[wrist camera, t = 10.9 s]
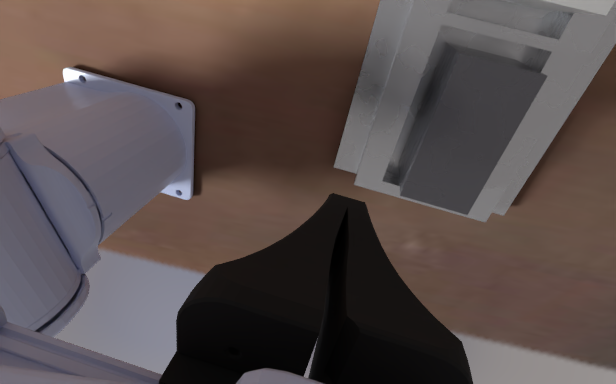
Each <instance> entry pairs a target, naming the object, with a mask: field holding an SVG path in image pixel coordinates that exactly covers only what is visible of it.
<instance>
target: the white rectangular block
mask: <svg viewBox="0 0 616 384" xmlns="http://www.w3.org/2000/svg"><path fill="white" fill-rule="evenodd" d="M502 1H507V2H511V3H515V4H519V5H523V6H528V7H532V8H536V9H540V10H549V11H560V12H571V13H582V14H593V15H604V16H606V15H607V14H608V12H609V11H610V9H611V7H612V6H613V4H614V2H615V1H616V0H502Z"/></svg>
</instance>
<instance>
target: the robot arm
mask: <svg viewBox="0 0 616 384" xmlns="http://www.w3.org/2000/svg"><path fill="white" fill-rule="evenodd" d="M63 76H64V83H60V84H57V85H53V86H49V87H45V88H41V89H38V90H34V91H30V92H26V93H23V94H19V95H15V96H11V97H7V98H4V99H0V384H473V381H472V376H471V372H470V367H469V364H468V360H467V357H466V354H465V351H464V348H463V344H462V342H461V341H460V340H459V339H458V338H457V337H456V336H455V335H454V334H453V333H451V332H450V331H449V330H448V329H447V328H446V327H445V326H444V325H443V324H441V323H440V322H439V321H438V320H437V319H436V318H435V317H434V316H433V315H432V314H431V313H430V312H429V311H428V310H427V309H426V308H425V307H424V305H423V304H422V303H421V302H420V301H419V300H418V299H417V298H416V297H415V295H414V294H413V293H412V292H411V290H410V289H409V288H408V287H407V285H406V284H405V283H404V282H403V280H402V279H401V278H400V276H399V275H398V273H397V272H396V270H395V269H394V267H393V266H392V264H391V263H390V261H389V259H388V257H387V255H386V254H385V252H384V250H383V248H382V246H381V244H380V242H379V239H378V237H377V235H376V232H375V230H374V228H373V225H372V222H371V219H370V216H369V213H368V210H367V206H366V204H365V202H362V201H358V200H355V199H351V198H348V197H344V196H341V195H337V194H334V193H332V194H330V195H329V197H328V199H327V200H326V201H325V203H324V204H323V205H322V206H321V207H320V209H319V210H318V211H317V212H316V213H315V214H314V215H313V216H312V217H311V218H309V219H308V220H307V221H306V222H305V223H304V224H302V225H301V226H300V227H299V228H297V229H296V230H295V231H293V232H292V233H291V234H289V235H288V236H286V237H284V238H283V239H281V240H280V241H278V242H276V243H274V244H272V245H271V246H269V247H267V248H265V249H263V250H260V251H258V252H256V253H253V254H251V255H248V256H246V257H243V258H240V259H237V260H233V261H230V262H226V263H223V264H219V265H215V266H214V267H213V268H212V269H211V270H210V271H209V272H208V273H207V274H206V275H205V276H204V277H203V278H202V280H201V281H200V282H199V283H198V284H197V285H196V286H195V288H194V289H193V290H192V292H191V293H190V295H189V296H188V298H187V299H186V301H185V302H184V304H183V305H182V307H181V308H180V310H179V311H178V315H177V320H176V325H177V326H176V327H177V351H176V353H175V355H174V357H173V358H172V360H171V361H170V363H169V365H168V367H167V368H166V370H165V371H164V373H163V375H161V374H158V373H155V372H152V371H149V370H146V369H144V368H141V367H138V366H135V365H132V364H129V363H126V362H123V361H120V360H117V359H114V358H112V357H109V356H105V355H102V354H100V353H97V352H94V351H91V350H88V349H85V348H82V347H79V346H77V345H74V344H71V343H68V342H65V341H62V340H59V339H56V338H54V337H55V336H56V335H57V334H58V333H60V332H61V331H62V330H63V329H64V328H65V327H66V326H67V325H68V324H69V322H70V321H71V320H72V319H73V318H74V317H75V315H76V314H77V313H78V312H79V310H80V309H81V308H82V306H83V304H84V302H85V301H86V299H87V296H88V294H89V287H90V285H89V280H88V278H87V276H86V275H85V273H86V272H87V271H88V270H89V269H91V268H92V267H93V266H94V265H95V264H96V263H97V262H98V261H99V260H100V259H101V257H100V255H99V253H98V245H99V244H100V243H101V242H103V241H104V240H105V239H106V238H107V237H108V236H110V235H111V234H112V233H113V232H114V231H115V230H117V229H118V228H119V227H120V226H121V225H122V224H124V223H125V222H126V221H127V220H128V219H129V218H131V217H132V216H133V215H134V214H135V213H136V212H138V211H139V210H140V209H141V208H142V207H143V206H145V205H146V204H147V203H148V202H149V201H151V200H152V199H153V198H154V197H155V196H156V195H158V194H159V193H160V192H162V193H165V194H168V195H172V196H175V197H178V198H181V199H185V200H189V199H190V198H191V197H192V196H193V179H194V136H195V105H194V104H193V102H192V101H190V100H188V99H185V98H181V97H178V96H174V95H170V94H167V93H163V92H160V91H156V90H152V89H149V88H145V87H142V86H138V85H135V84H131V83H127V82H124V81H120V80H117V79H113V78H109V77H106V76H102V75H99V74H95V73H91V72H88V71H84V70H81V69H77V68H73V67H67V68H64V70H63ZM83 76H84V77H85V79H86V81H85V80H84V77H83ZM178 102H179V103H180V104H181V105H182V108H180V107H179V106H178ZM179 190H180V191H181V192H182V193H180V192H179ZM317 338H318V339H317ZM316 341H317V344H316ZM315 344H316V348H315V352H314V357H313V361H312V365H311V369H310V374H309V378H305V377H303V376H304V374H305V371H306V368H307V365H308V363H309V360H310V357H311V354H312V352H313V349H314V346H315Z"/></svg>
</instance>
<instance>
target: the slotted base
mask: <svg viewBox="0 0 616 384" xmlns="http://www.w3.org/2000/svg"><path fill="white" fill-rule="evenodd" d="M615 44H616V1H615V2H614V4H613V6H612V7H611V9H610V11H609V12H608V14H607V15H606V16H604V15H593V14H582V13H571V12H560V11H549V10H540V9H536V8H532V7H528V6H523V5H519V4H515V3H511V2H507V1H502V0H380V4H379V7H378V11H377V14H376V18H375V21H374V25H373V29H372V32H371V36H370V39H369V43H368V46H367V50H366V53H365V57H364V61H363V64H362V68H361V71H360V75H359V78H358V82H357V86H356V89H355V93H354V96H353V100H352V103H351V107H350V111H349V114H348V118H347V121H346V125H345V128H344V132H343V136H342V139H341V143H340V146H339V150H338V153H337V157H336V161H335V164H334V167H335V168H338V169H342V170H345V171H349V172H352V173H356V177H355V182H354V185H357V186H360V187H364V188H367V189H371V190H374V191H378V192H381V193H384V194H388V195H391V196H395V197H398V198H402V199H405V200H409V201H412V202H416V203H419V204H423V205H426V206H430V207H433V208H437V209H440V210H444V211H447V212H451V213H454V214H458V215H461V216H465V217H468V218H472V219H475V220H479V221H482V222H486V221H487V219H488V218H489V216H490V214H491V213H492V212H493V213H496V214H500V215H503V216H504V214H505V213H506V211H507V210H508V208H509V207H510V205H511V203H512V202H513V200H514V199H515V197H516V196H517V194H518V193H519V191H520V190H521V188H522V187H523V185H524V184H525V182H526V180H527V179H528V177H529V176H530V174H531V173H532V171H533V170H534V168H535V167H536V165H537V164H538V162H539V160H540V159H541V157H542V156H543V154H544V153H545V151H546V150H547V148H548V147H549V145H550V144H551V142H552V141H553V139H554V137H555V136H556V134H557V133H558V131H559V130H560V128H561V127H562V125H563V124H564V122H565V121H566V119H567V117H568V116H569V114H570V113H571V111H572V110H573V108H574V107H575V105H576V104H577V102H578V101H579V99H580V97H581V96H582V94H583V93H584V91H585V90H586V88H587V87H588V85H589V84H590V82H591V81H592V79H593V78H594V76H595V74H596V73H597V71H598V70H599V68H600V67H601V65H602V64H603V62H604V61H605V59H606V58H607V56H608V54H609V53H610V51H611V50H612V48H613V47H614V45H615Z"/></svg>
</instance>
